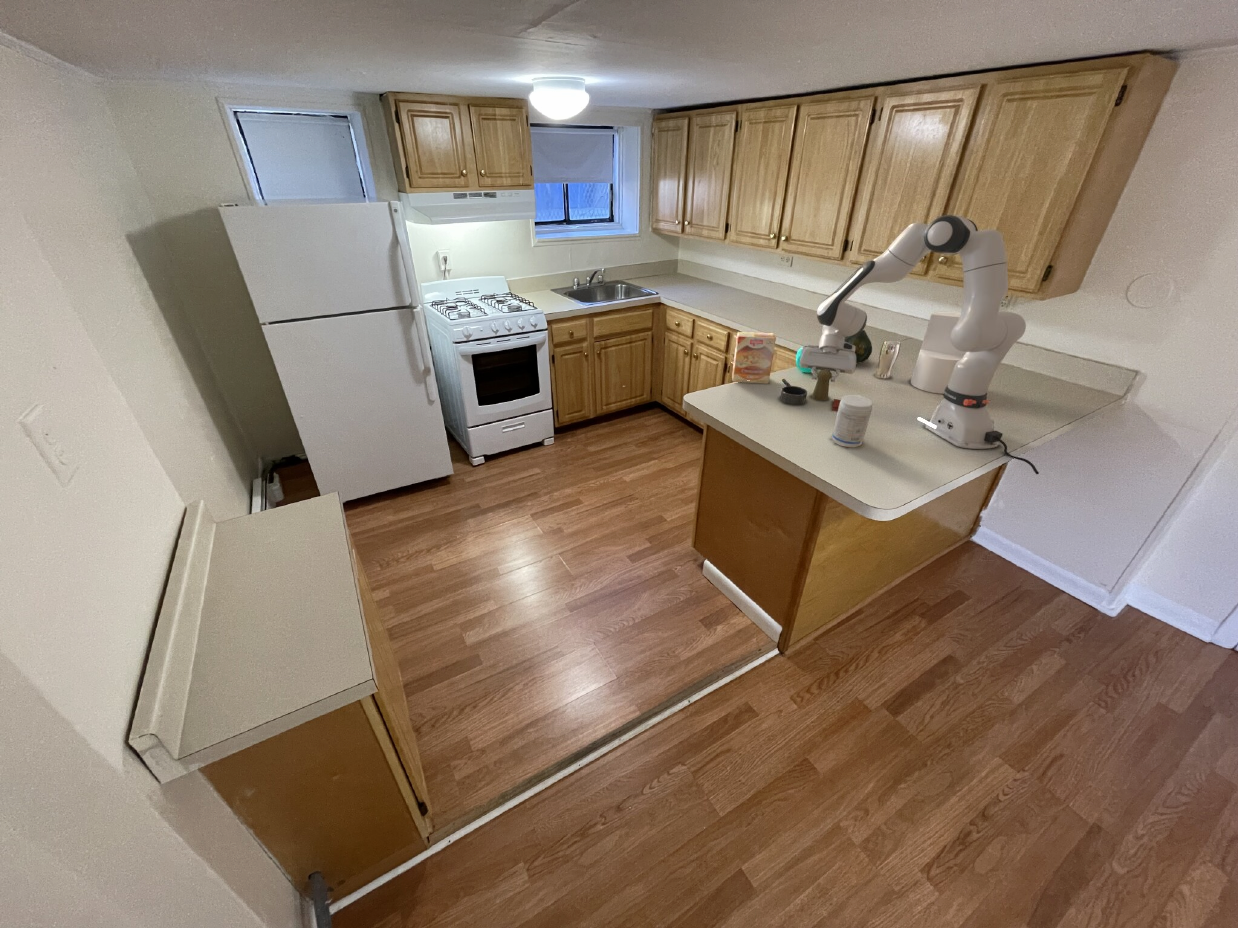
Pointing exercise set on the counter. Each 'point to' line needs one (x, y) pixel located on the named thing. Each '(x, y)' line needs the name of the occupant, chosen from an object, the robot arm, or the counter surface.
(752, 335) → the coffeecake box
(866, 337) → the squash
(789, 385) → the pan handle
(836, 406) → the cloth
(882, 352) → the beer glass
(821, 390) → the olive tall rounded piece
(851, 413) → the supplement tub
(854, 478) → the counter surface
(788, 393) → the pan
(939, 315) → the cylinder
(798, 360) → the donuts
